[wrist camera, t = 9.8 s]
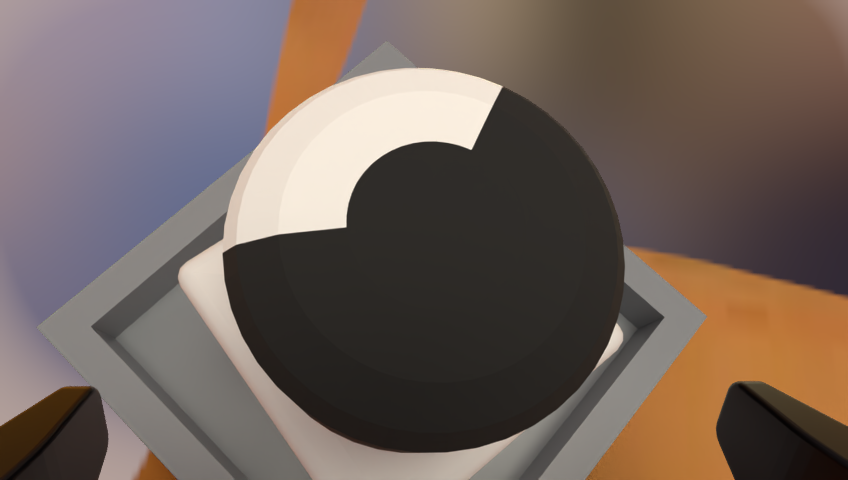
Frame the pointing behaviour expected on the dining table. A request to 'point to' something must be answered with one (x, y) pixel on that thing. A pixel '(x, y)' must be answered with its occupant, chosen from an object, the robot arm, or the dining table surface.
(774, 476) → the robot arm
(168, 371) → the slate tray
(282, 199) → the medicine bottle
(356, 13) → the dining table surface
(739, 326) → the dining table surface
